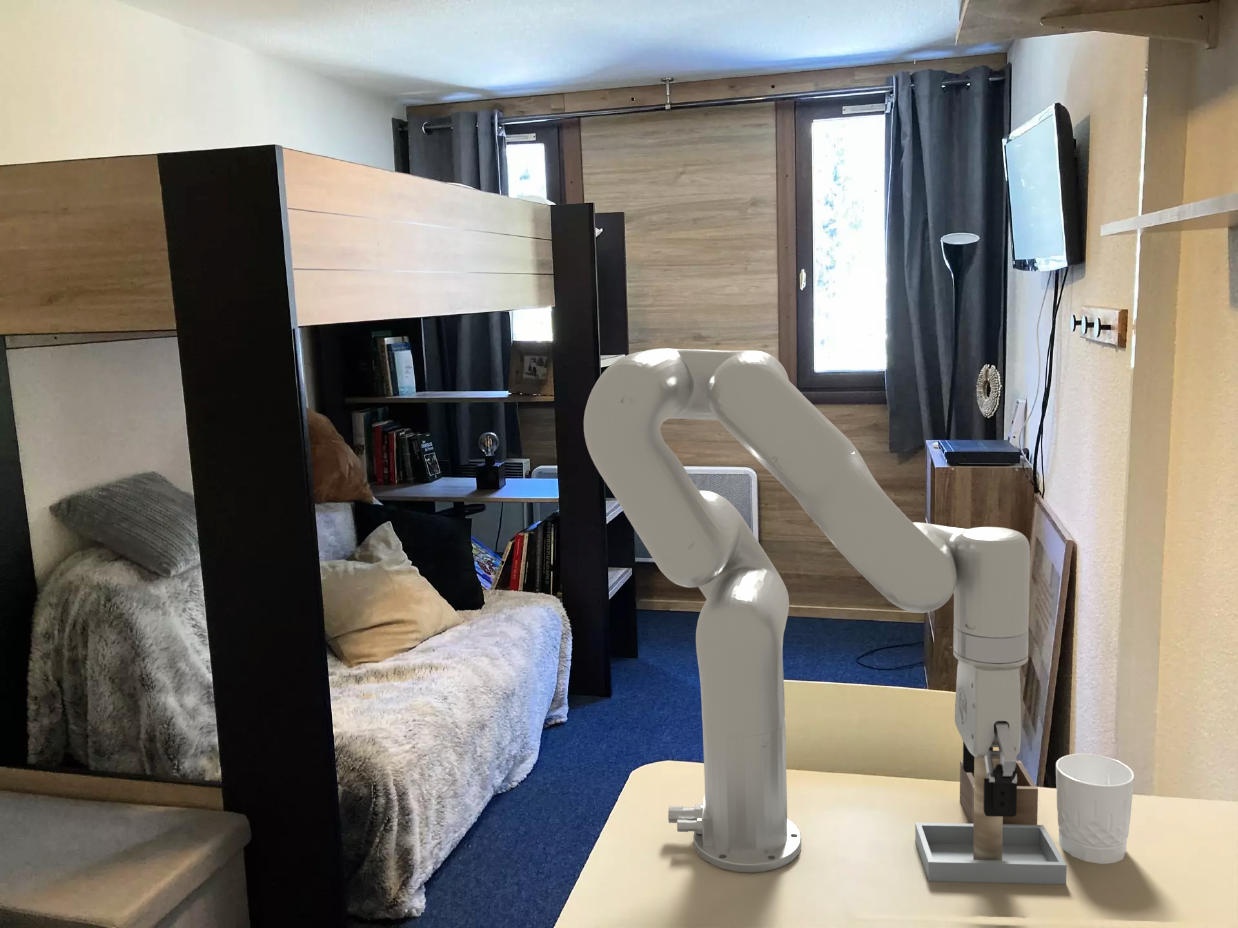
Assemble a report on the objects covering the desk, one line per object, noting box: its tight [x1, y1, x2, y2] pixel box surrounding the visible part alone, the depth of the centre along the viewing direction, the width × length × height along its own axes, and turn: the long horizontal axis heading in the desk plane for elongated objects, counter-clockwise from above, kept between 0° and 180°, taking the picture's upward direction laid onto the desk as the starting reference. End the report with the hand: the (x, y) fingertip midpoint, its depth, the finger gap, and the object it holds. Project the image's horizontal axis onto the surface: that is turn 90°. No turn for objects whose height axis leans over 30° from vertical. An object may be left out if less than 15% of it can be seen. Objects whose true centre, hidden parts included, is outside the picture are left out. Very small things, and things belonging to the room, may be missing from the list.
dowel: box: [973, 756, 1003, 861], centre depth 109 cm, size 3×3×12 cm
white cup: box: [1055, 753, 1135, 865], centre depth 111 cm, size 8×8×10 cm
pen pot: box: [959, 759, 1039, 825], centre depth 119 cm, size 7×7×6 cm
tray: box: [914, 822, 1068, 886], centre depth 110 cm, size 14×8×3 cm, turn 83°
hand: (988, 792), depth 109 cm, fingers open, 9 cm apart
